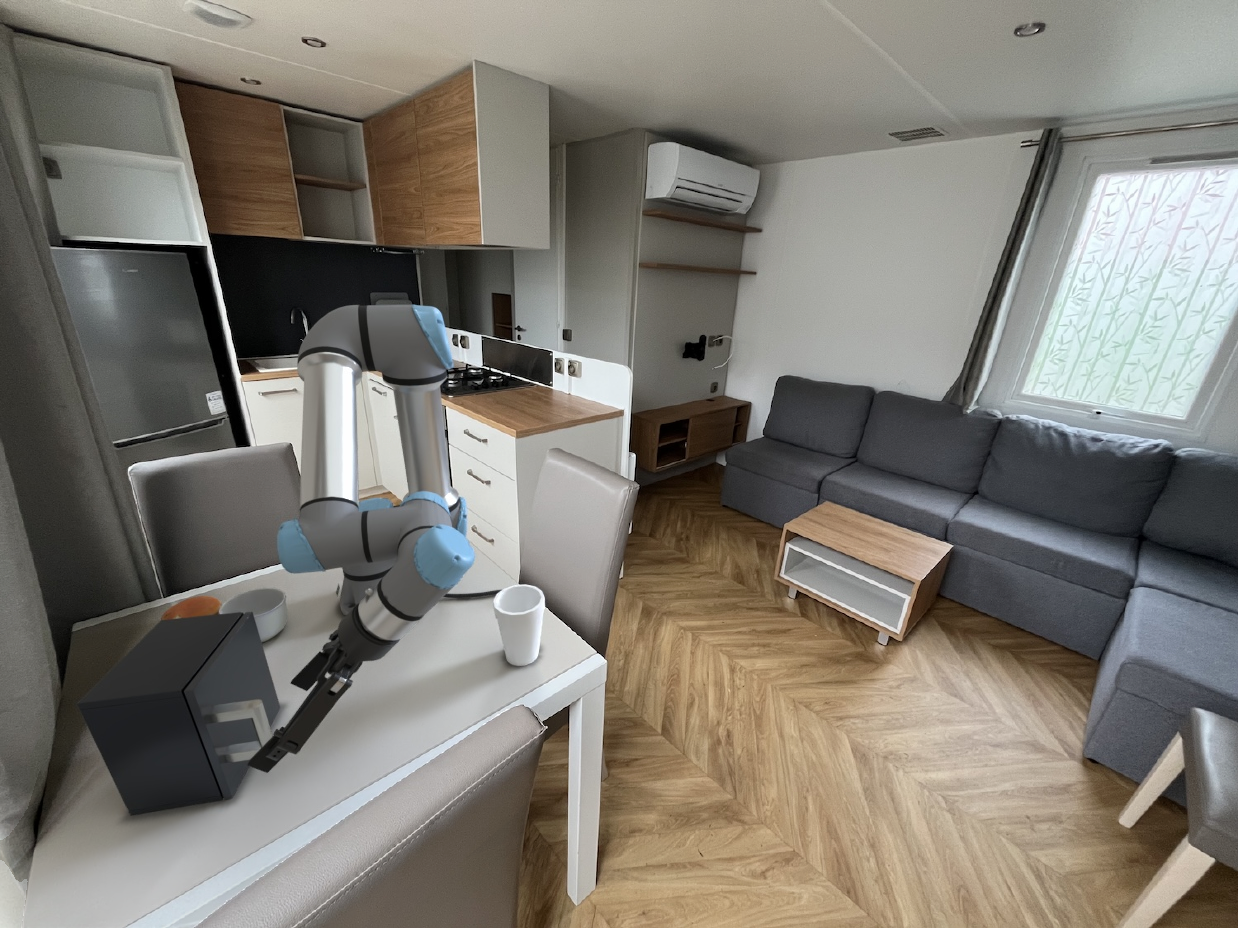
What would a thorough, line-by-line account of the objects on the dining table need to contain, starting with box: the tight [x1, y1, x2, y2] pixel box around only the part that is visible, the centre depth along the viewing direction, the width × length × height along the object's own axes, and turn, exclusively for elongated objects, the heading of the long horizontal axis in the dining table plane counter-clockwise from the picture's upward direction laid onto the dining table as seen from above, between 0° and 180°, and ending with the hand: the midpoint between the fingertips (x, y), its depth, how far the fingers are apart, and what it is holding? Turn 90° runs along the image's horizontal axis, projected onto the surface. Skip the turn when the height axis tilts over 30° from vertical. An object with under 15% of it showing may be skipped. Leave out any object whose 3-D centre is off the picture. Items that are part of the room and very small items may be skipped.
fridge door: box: [184, 612, 281, 800], centre depth 73 cm, size 7×16×20 cm, turn 12°
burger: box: [160, 595, 223, 621], centre depth 103 cm, size 10×9×5 cm
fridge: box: [76, 612, 244, 817], centre depth 72 cm, size 11×16×20 cm
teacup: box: [219, 587, 289, 643], centre depth 98 cm, size 14×11×8 cm
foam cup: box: [492, 583, 546, 667], centre depth 95 cm, size 10×9×13 cm
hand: (280, 722), depth 69 cm, fingers open, 13 cm apart
